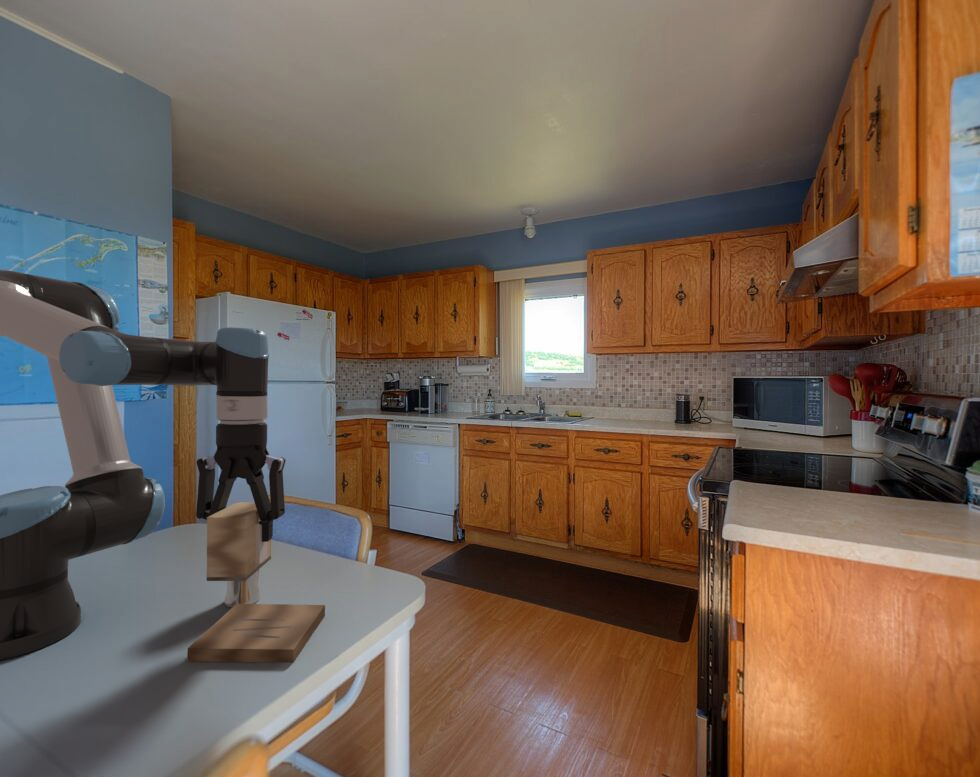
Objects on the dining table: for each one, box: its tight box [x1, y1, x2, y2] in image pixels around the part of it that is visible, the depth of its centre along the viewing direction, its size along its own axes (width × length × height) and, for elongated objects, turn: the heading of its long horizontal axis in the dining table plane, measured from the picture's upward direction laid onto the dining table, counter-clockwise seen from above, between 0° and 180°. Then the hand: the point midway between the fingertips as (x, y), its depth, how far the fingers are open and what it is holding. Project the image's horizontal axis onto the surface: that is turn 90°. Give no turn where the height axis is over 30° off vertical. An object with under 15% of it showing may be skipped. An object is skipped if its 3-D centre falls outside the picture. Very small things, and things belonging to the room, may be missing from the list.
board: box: [186, 603, 326, 664], centre depth 77 cm, size 16×14×2 cm
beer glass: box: [224, 569, 261, 609], centre depth 89 cm, size 7×7×15 cm
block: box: [206, 501, 272, 582], centre depth 76 cm, size 6×9×10 cm, turn 2°
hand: (240, 560), depth 76 cm, fingers closed on block, 6 cm apart
